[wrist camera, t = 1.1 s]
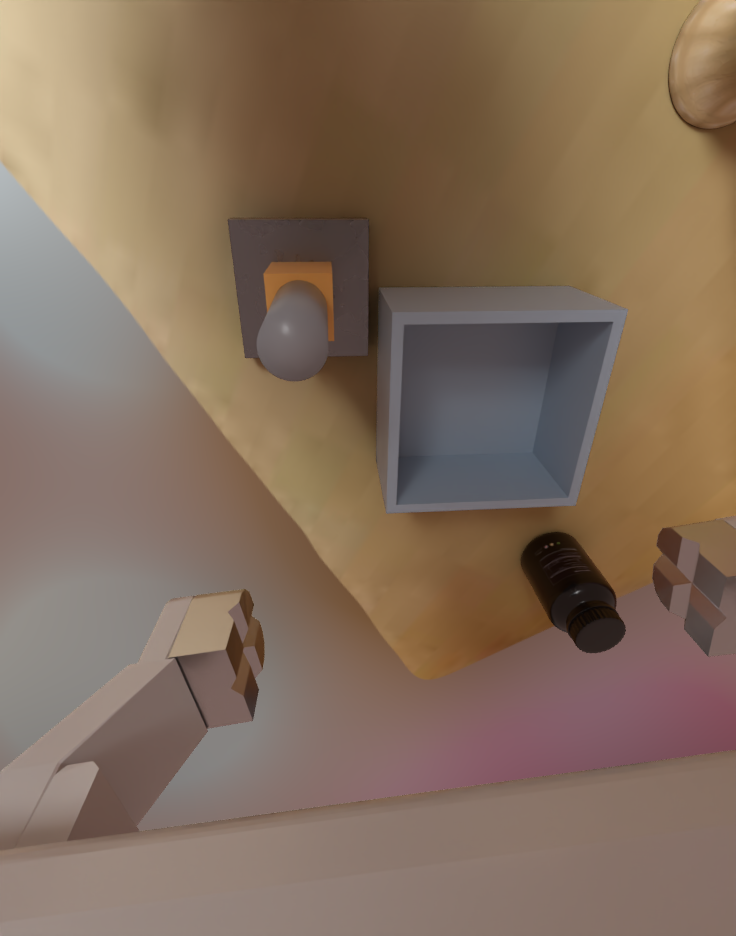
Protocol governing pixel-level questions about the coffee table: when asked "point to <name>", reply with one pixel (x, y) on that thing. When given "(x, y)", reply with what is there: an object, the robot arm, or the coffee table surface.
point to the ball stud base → (304, 243)
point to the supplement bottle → (573, 591)
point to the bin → (489, 394)
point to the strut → (296, 319)
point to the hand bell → (706, 65)
